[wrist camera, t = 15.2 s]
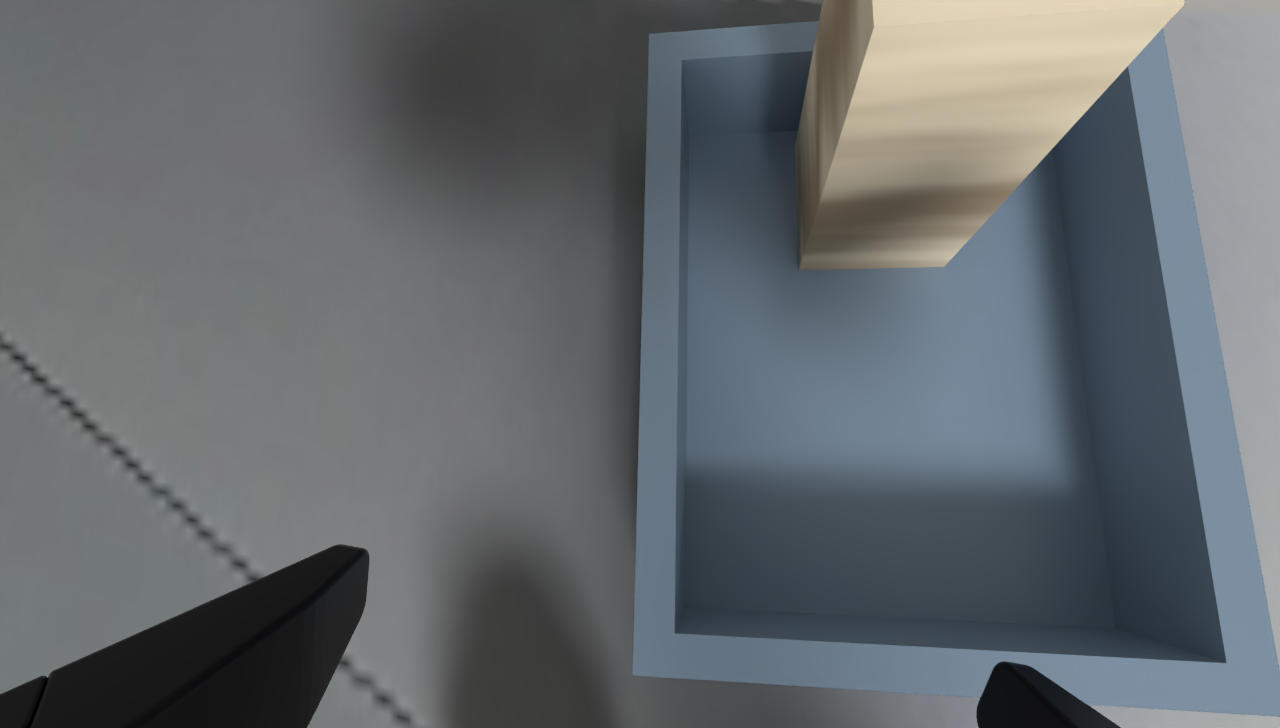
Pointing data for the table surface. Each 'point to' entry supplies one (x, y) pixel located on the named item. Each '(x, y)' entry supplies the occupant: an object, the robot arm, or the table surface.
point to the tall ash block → (943, 115)
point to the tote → (936, 417)
